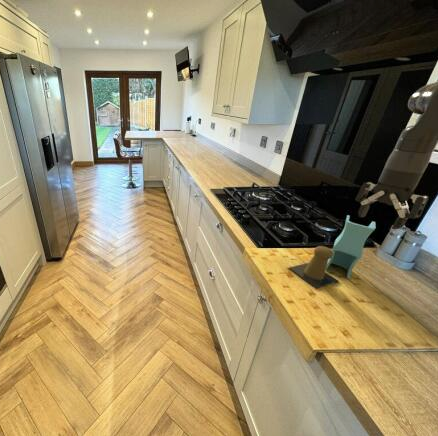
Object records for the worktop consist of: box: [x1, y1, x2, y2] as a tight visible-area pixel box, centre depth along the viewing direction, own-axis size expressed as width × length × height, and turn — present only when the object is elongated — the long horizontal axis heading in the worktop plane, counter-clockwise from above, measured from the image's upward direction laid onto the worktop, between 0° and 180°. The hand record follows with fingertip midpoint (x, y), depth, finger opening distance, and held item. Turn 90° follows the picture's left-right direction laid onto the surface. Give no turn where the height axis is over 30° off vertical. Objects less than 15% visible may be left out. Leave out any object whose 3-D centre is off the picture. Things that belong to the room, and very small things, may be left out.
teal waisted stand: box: [326, 214, 377, 279], centre depth 84 cm, size 8×8×20 cm
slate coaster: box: [288, 262, 340, 289], centre depth 85 cm, size 11×11×1 cm
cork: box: [304, 245, 333, 280], centre depth 82 cm, size 6×6×11 cm
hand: (377, 222), depth 69 cm, fingers open, 8 cm apart
